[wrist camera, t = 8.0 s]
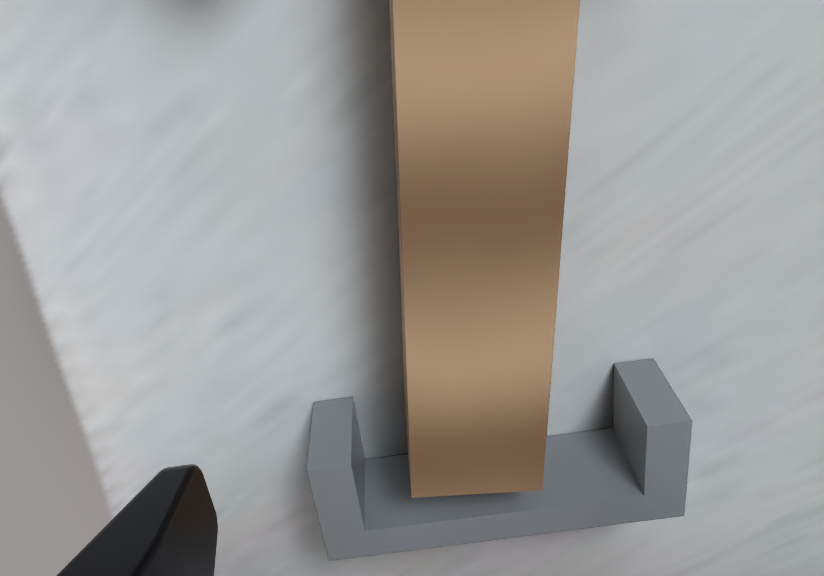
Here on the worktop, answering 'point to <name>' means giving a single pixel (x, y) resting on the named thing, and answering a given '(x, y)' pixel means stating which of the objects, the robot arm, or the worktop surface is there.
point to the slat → (480, 232)
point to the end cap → (509, 511)
